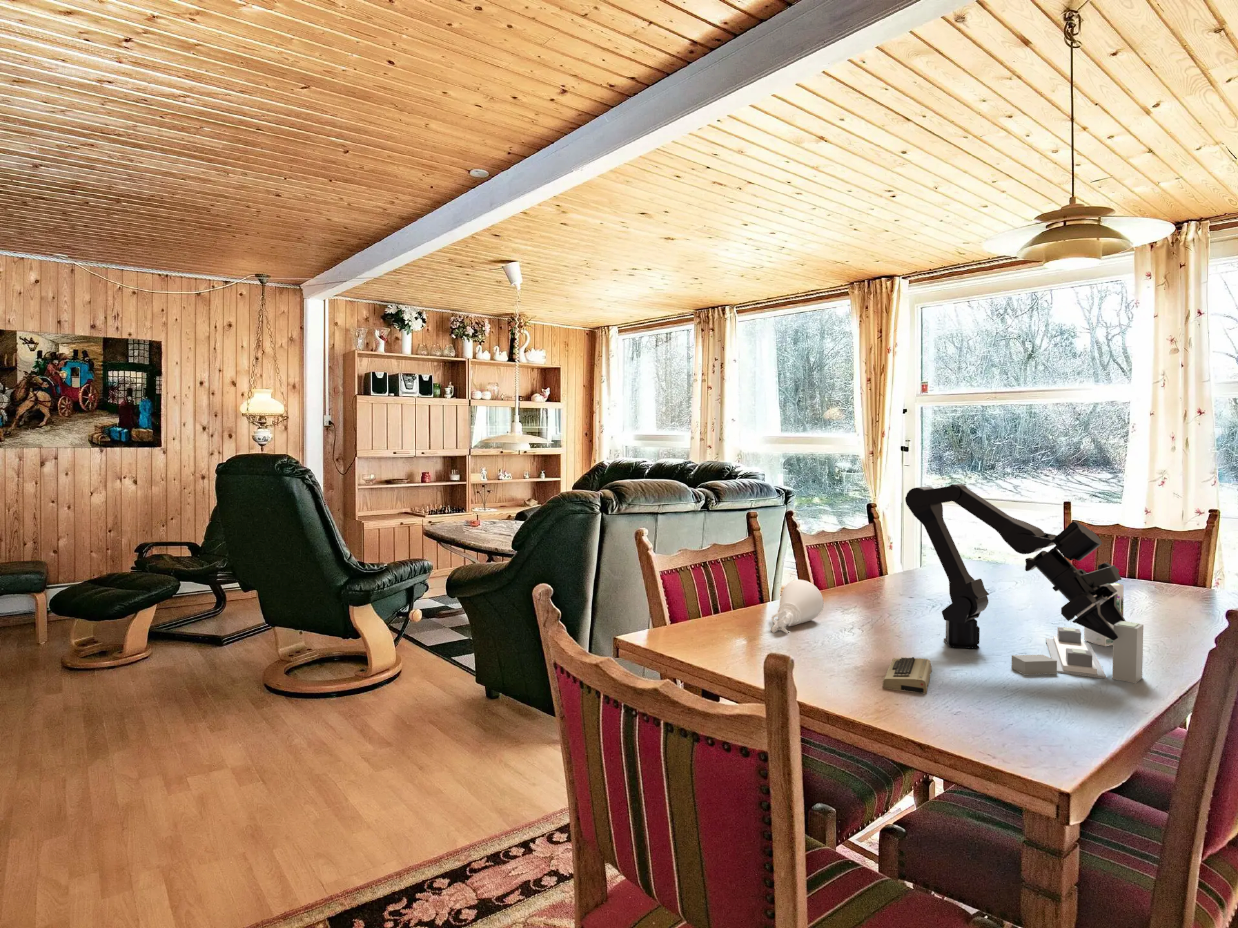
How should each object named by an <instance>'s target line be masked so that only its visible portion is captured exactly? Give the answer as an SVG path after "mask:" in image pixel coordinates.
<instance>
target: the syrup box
mask: <svg viewBox="0 0 1238 928" xmlns="http://www.w3.org/2000/svg"><path fill="white" fill-rule="evenodd" d="M1107 584H1108V583H1107ZM1111 585H1112V586H1113V587H1114V588H1115V589H1116V590H1117V592H1116V593H1114V594H1113V595H1112V596H1114V595H1115V594H1117V595H1118V597H1117V602H1116V605H1117V607H1118V609H1119V611H1120V612H1121V614H1122V616H1123V617H1124V587H1125V586H1124V584H1121V583H1118V582H1114V583H1111ZM1112 596H1110V597H1112ZM1108 624H1109V625H1110V626H1111V628H1112V629H1114V625H1112V624H1110V623H1109V622H1108ZM1083 630H1084V633H1083V634H1084V635H1083V637H1084V639H1083V641H1084V642H1085V641H1086V642H1087V643H1090V644H1091V643H1092V644H1094V645H1097V646H1101V647H1107V646H1108V647H1109V646H1113V640H1112V639H1109V638H1107V637H1105V636H1103V635H1101V634H1099V633H1097V632H1095V631H1093V630H1090V629H1088V628H1086V627H1084V626H1083Z"/></svg>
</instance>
